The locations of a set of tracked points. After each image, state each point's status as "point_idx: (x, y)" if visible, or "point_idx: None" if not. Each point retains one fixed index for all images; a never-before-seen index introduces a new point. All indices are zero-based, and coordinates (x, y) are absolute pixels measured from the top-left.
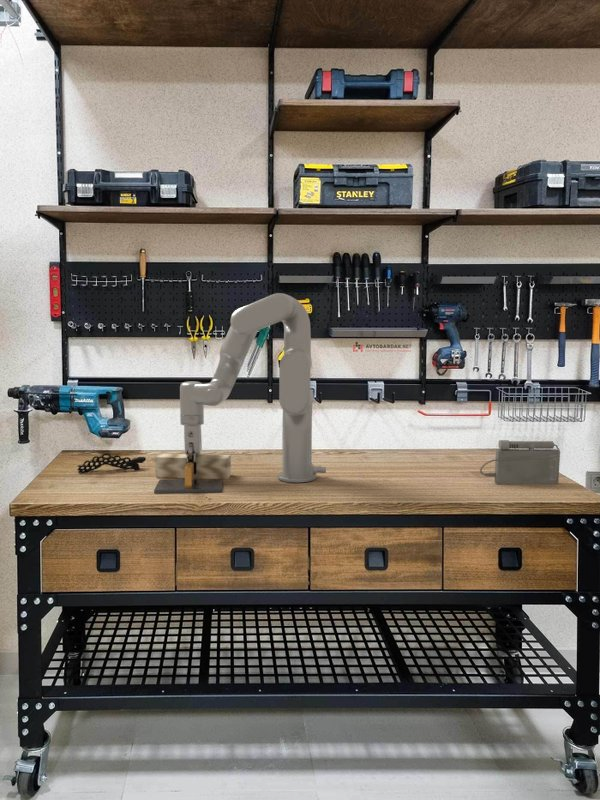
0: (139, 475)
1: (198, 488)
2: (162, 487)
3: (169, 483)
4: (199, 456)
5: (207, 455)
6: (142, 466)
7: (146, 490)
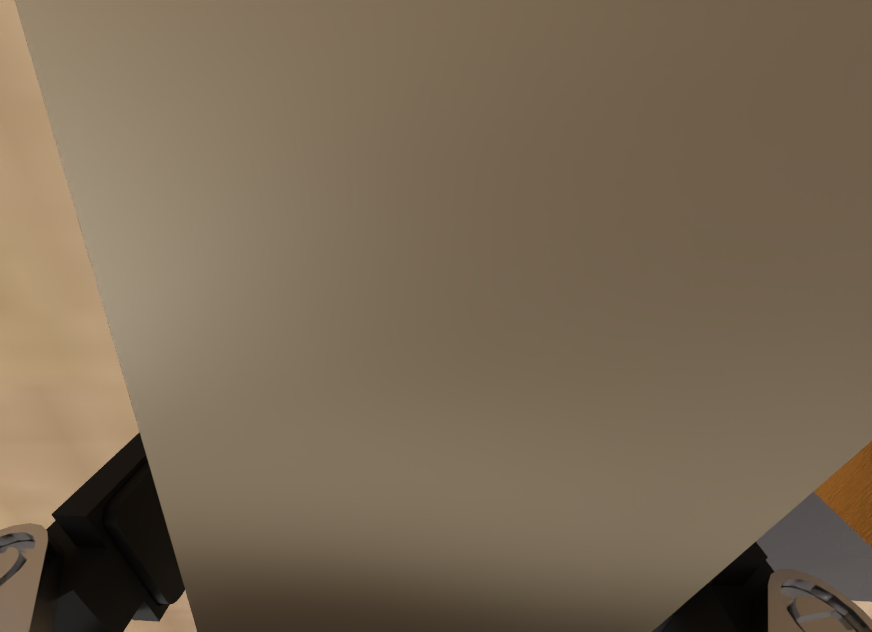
0: None
1: None
2: (857, 572)
3: (760, 542)
4: (468, 587)
5: (318, 402)
6: (170, 618)
7: None
